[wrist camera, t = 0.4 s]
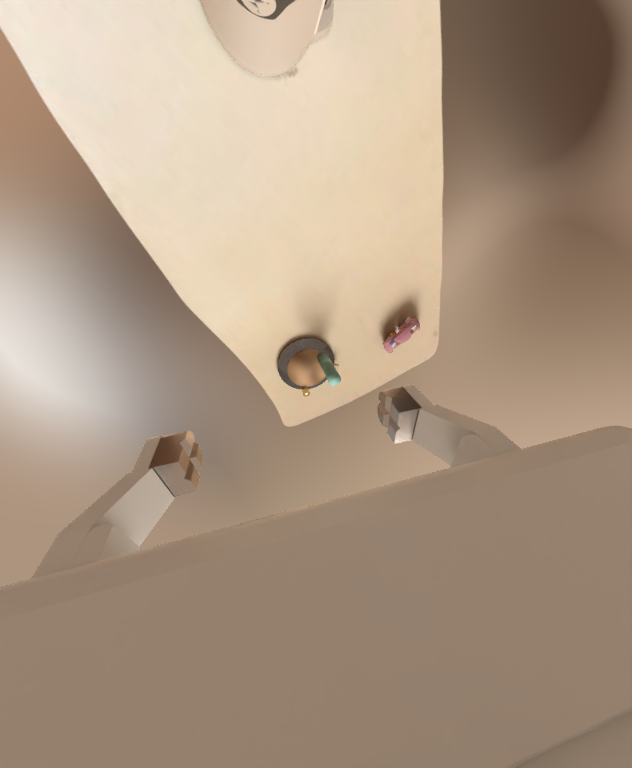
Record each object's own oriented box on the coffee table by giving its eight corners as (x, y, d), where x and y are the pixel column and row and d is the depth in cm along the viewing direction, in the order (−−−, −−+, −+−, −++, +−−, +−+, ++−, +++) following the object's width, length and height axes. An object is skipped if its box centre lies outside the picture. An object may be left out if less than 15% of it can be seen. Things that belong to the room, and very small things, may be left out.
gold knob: (301, 384, 62) (303, 391, 60) (307, 384, 63) (310, 391, 60) (300, 389, 63) (302, 396, 60) (306, 389, 63) (308, 396, 61)
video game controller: (407, 313, 61) (416, 313, 54) (419, 327, 61) (429, 328, 54) (377, 340, 63) (381, 343, 56) (388, 353, 64) (394, 357, 57)
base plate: (281, 334, 54) (282, 337, 53) (339, 340, 59) (341, 343, 57) (274, 386, 62) (275, 389, 60) (326, 388, 66) (327, 391, 65)
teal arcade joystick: (308, 393, 63) (317, 421, 54) (278, 368, 57) (283, 395, 48) (340, 367, 61) (356, 392, 52) (313, 337, 55) (325, 360, 46)
